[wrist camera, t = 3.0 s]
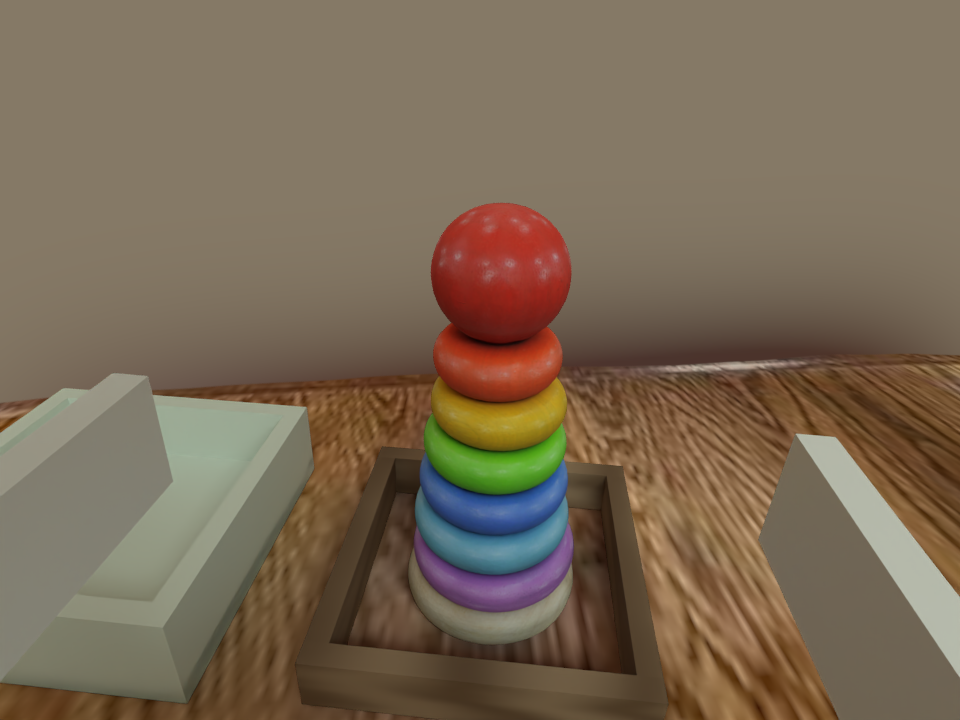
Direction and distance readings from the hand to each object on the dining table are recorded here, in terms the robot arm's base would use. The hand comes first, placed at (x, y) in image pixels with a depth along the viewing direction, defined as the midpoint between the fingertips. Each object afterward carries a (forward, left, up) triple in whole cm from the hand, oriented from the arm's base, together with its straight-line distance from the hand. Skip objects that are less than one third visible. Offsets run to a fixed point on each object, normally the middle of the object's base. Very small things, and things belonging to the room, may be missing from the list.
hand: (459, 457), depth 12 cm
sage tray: (+19, -11, -16) cm, 27 cm away
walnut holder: (0, -11, -16) cm, 19 cm away
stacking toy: (0, -11, -16) cm, 20 cm away
